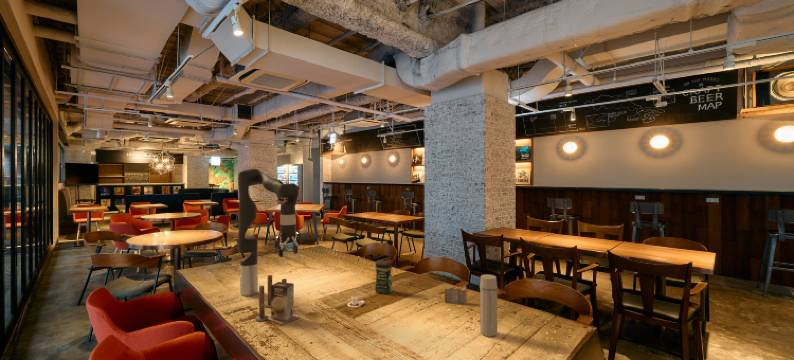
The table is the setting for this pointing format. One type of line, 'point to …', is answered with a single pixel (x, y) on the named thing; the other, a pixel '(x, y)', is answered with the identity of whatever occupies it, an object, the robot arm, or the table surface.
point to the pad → (283, 320)
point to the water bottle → (488, 305)
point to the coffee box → (282, 300)
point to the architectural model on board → (456, 295)
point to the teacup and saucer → (355, 302)
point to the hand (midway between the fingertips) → (288, 255)
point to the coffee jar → (383, 277)
